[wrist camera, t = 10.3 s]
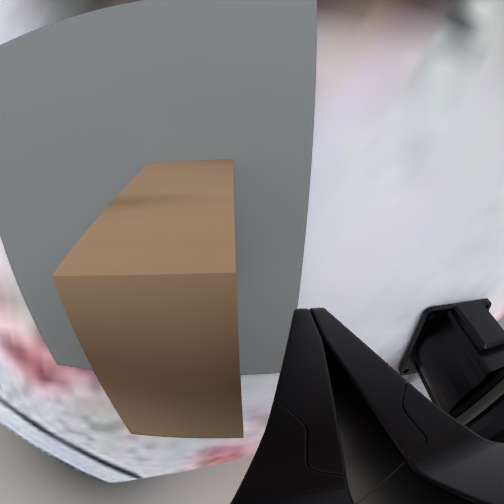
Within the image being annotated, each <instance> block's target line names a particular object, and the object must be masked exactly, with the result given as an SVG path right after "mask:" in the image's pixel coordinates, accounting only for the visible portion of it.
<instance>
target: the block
mask: <svg viewBox="0 0 504 504" xmlns="http://www.w3.org/2000/svg"><path fill="white" fill-rule="evenodd" d="M52 279H53V281H54V284H55V287H56V289H57V292H58V294H59V297H60V299H61V302H62V304H63V307H64V309H65V312H66V314H67V316H68V319H69V321H70V323H71V325H72V328H73V330H74V332H75V334H76V336H77V339H78V341H79V343H80V345H81V347H82V349H83V351H84V353H85V355H86V357H87V359H88V361H89V363H90V365H91V367H92V369H93V371H94V372H95V374H96V376H97V378H98V380H99V382H100V383H101V385H102V387H103V389H104V391H105V392H106V394H107V396H108V397H109V399H110V401H111V403H112V404H113V406H114V408H115V409H116V411H117V412H118V414H119V416H120V417H121V419H122V420H123V422H124V424H125V425H126V427H127V428H128V430H129V431H130V433H131V434H138V435H149V436H162V437H180V438H244V437H243V418H242V399H241V379H240V357H239V333H238V308H237V281H236V252H235V219H234V180H233V159H214V160H194V161H177V162H164V163H151V164H146V165H145V166H144V167H143V168H142V169H141V170H140V171H139V173H138V174H137V175H136V176H135V177H134V178H133V179H132V180H131V181H130V182H129V183H128V184H127V185H126V186H125V187H124V188H123V189H122V191H121V192H120V193H119V194H118V195H117V196H116V197H115V198H114V199H113V200H112V202H111V203H110V204H109V205H108V206H107V207H106V208H105V209H104V211H103V212H102V213H101V214H100V215H99V216H98V218H97V219H96V220H95V221H94V222H93V223H92V225H91V226H90V227H89V228H88V229H87V231H86V232H85V233H84V234H83V236H82V237H81V238H80V239H79V240H78V242H77V243H76V244H75V245H74V247H73V248H72V249H71V251H70V252H69V253H68V254H67V256H66V257H65V258H64V260H63V261H62V262H61V264H60V265H59V266H58V268H57V269H56V270H55V272H54V273H53V274H52Z"/></svg>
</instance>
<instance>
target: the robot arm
mask: <svg viewBox="0 0 504 504" xmlns="http://www.w3.org/2000/svg"><path fill="white" fill-rule="evenodd" d="M490 307H491V302H490V301H489V300H488V299H480V300H474V301H468V302H461V303H455V304H448V305H440V306H433V307H429V308H428V309H427V310H426V311H425V312H424V314H423V316H422V319H421V321H420V324H419V326H418V328H417V331H416V333H415V335H414V337H413V340H412V342H411V344H410V346H409V348H408V350H407V353H406V355H405V357H404V359H403V361H402V363H401V365H400V367H399V372H400V374H401V375H408V374H412V373H417V372H418V374H419V376H420V378H421V380H422V382H423V384H424V386H425V388H426V390H427V392H428V395H429V397H430V398H431V400H432V402H431V401H430V400H429V399H428V398H426V397H425V396H424V395H423V394H422V393H420V392H419V391H418V390H417V389H416V388H414V387H413V386H412V385H411V384H410V383H409V382H406V380H405V379H404V378H403V377H402V376H401V375H400V374H399V373H397V372H396V371H395V370H394V369H393V368H392V367H391V366H390V365H388V364H387V363H386V362H385V361H384V360H383V359H382V358H380V357H379V356H378V355H377V354H376V353H375V352H374V351H373V350H371V349H370V348H369V347H368V346H367V345H366V344H365V343H363V342H362V341H361V340H360V339H359V338H358V337H357V336H356V335H354V334H353V333H352V332H351V331H350V330H349V329H348V328H346V327H345V326H344V325H343V324H342V323H341V322H340V321H338V320H337V319H336V318H335V317H334V316H333V315H332V314H331V313H329V312H328V311H327V310H326V309H325V308H311V309H295V310H294V312H293V316H292V321H291V326H290V331H289V335H288V340H287V345H286V349H285V354H284V358H283V363H282V367H281V371H280V376H279V380H278V384H277V389H276V393H275V397H274V402H273V404H272V408H271V412H270V416H269V419H268V423H267V426H266V429H265V432H264V435H263V437H262V439H261V442H260V444H259V447H258V449H257V451H256V453H255V456H254V458H253V460H252V462H251V464H250V466H249V468H248V470H247V472H246V474H245V476H244V479H243V480H242V482H241V484H240V486H239V488H238V490H237V492H236V494H235V496H234V498H233V500H232V501H231V503H230V504H504V330H503V329H502V328H501V326H500V325H499V324H498V322H497V321H496V320H495V319H494V317H493V316H492V315H491V314H490V312H489V309H490Z"/></svg>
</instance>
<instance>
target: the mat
mask: <svg viewBox="0 0 504 504" xmlns="http://www.w3.org/2000/svg"><path fill="white" fill-rule="evenodd" d="M316 47H317V0H142V1H137V2H131V3H126V4H121V5H117V6H112V7H108V8H104V9H99V10H96V11H92V12H88V13H84V14H81V15H78V16H74V17H71V18H68V19H65V20H62V21H59V22H56V23H53V24H50V25H47V26H44V27H42V28H39V29H36V30H34V31H31V32H29V33H26V34H24V35H22V36H19V37H17V38H15V39H12V40H10V41H8V42H6V43H4V44H2V45H0V236H1V239H2V242H3V245H4V248H5V251H6V254H7V257H8V260H9V263H10V265H11V268H12V271H13V273H14V276H15V278H16V281H17V283H18V286H19V288H20V291H21V293H22V295H23V298H24V300H25V302H26V305H27V307H28V309H29V311H30V313H31V315H32V318H33V320H34V322H35V324H36V326H37V328H38V330H39V332H40V334H41V336H42V338H43V340H44V342H45V343H46V345H47V347H48V349H49V351H50V353H51V355H52V356H53V358H54V360H55V362H56V363H57V365H63V366H70V367H78V368H86V369H92V367H91V365H90V363H89V361H88V359H87V357H86V355H85V353H84V351H83V349H82V347H81V345H80V343H79V341H78V339H77V336H76V334H75V332H74V330H73V328H72V325H71V323H70V321H69V319H68V316H67V314H66V312H65V309H64V307H63V304H62V302H61V299H60V297H59V294H58V292H57V289H56V287H55V284H54V281H53V279H52V274H53V273H54V272H55V270H56V269H57V268H58V266H59V265H60V264H61V262H62V261H63V260H64V258H65V257H66V256H67V254H68V253H69V252H70V251H71V249H72V248H73V247H74V245H75V244H76V243H77V242H78V240H79V239H80V238H81V237H82V236H83V234H84V233H85V232H86V231H87V229H88V228H89V227H90V226H91V225H92V223H93V222H94V221H95V220H96V219H97V218H98V216H99V215H100V214H101V213H102V212H103V211H104V209H105V208H106V207H107V206H108V205H109V204H110V203H111V202H112V200H113V199H114V198H115V197H116V196H117V195H118V194H119V193H120V192H121V191H122V189H123V188H124V187H125V186H126V185H127V184H128V183H129V182H130V181H131V180H132V179H133V178H134V177H135V176H136V175H137V174H138V173H139V171H140V170H141V169H142V168H143V167H144V166H145V165H146V164H151V163H164V162H177V161H194V160H214V159H233V180H234V219H235V252H236V281H237V308H238V333H239V357H240V375H248V374H270V373H280V371H281V367H282V363H283V358H284V354H285V349H286V345H287V340H288V335H289V331H290V326H291V321H292V316H293V312H294V310H295V309H297V305H298V297H299V289H300V280H301V271H302V262H303V253H304V243H305V233H306V222H307V211H308V200H309V188H310V174H311V160H312V145H313V128H314V108H315V84H316Z"/></svg>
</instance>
